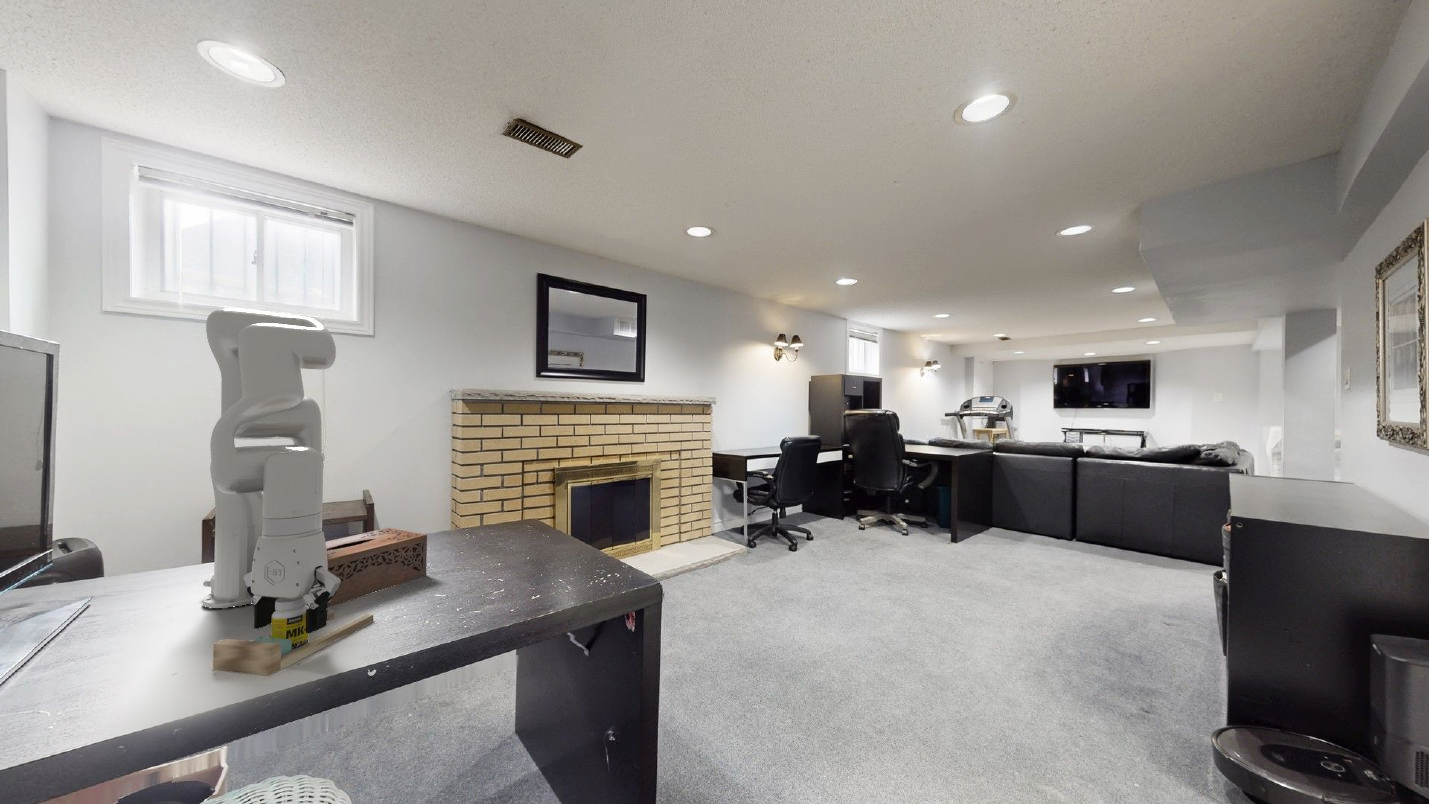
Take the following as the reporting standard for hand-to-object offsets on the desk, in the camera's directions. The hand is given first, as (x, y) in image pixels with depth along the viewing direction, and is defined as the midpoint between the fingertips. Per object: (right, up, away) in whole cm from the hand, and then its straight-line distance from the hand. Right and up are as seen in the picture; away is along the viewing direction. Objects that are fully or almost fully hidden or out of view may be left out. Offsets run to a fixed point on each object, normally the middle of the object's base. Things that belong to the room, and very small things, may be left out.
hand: (290, 627), depth 80 cm
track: (0, -4, +3) cm, 4 cm away
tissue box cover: (-10, -4, +26) cm, 28 cm away
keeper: (-1, -3, -4) cm, 5 cm away
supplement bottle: (0, -4, 0) cm, 4 cm away
